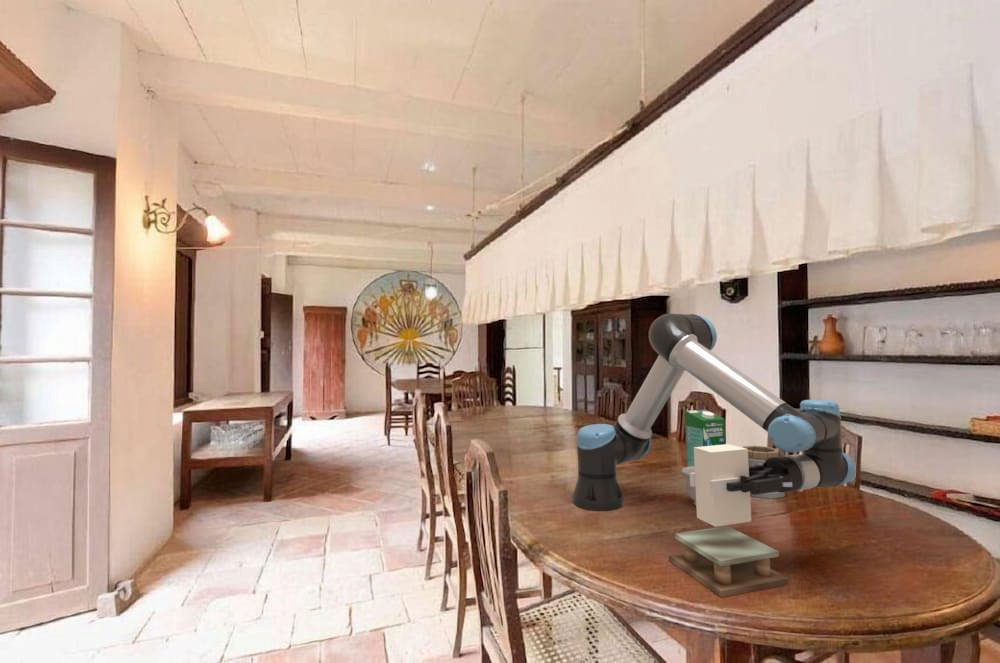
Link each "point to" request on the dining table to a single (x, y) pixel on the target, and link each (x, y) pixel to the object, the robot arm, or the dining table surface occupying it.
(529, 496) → the dining table surface
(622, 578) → the dining table surface
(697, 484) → the cream rectangular block
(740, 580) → the peg shelf
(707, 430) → the milk carton
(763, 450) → the tankard
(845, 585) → the dining table surface
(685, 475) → the teacup
